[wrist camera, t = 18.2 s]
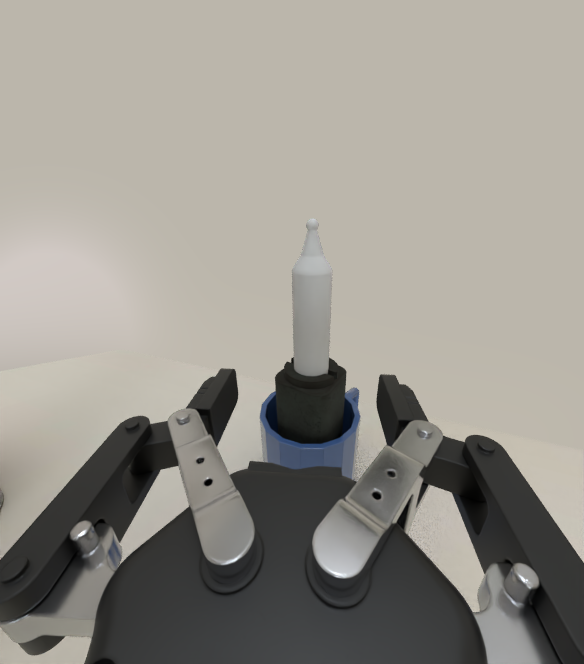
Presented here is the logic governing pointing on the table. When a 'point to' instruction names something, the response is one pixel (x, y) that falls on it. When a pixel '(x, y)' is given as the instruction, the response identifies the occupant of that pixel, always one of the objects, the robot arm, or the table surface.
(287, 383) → the candle
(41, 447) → the table surface
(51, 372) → the table surface
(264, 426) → the mug
